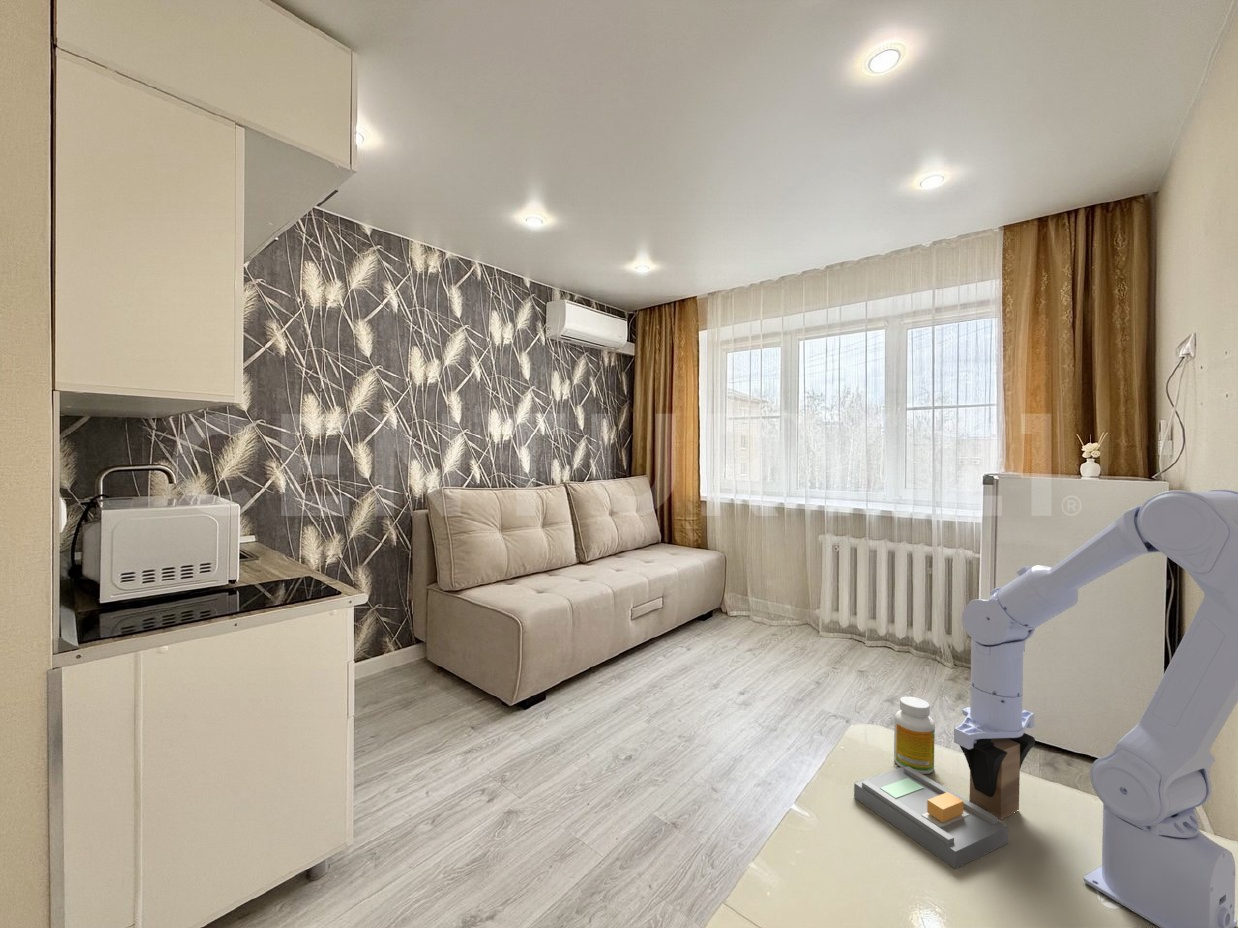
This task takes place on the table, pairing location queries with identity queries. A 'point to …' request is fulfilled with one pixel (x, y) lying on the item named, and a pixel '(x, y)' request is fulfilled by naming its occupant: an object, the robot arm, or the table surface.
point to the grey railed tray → (906, 809)
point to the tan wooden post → (1002, 782)
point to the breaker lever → (945, 806)
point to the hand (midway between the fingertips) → (994, 788)
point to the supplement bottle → (914, 735)
